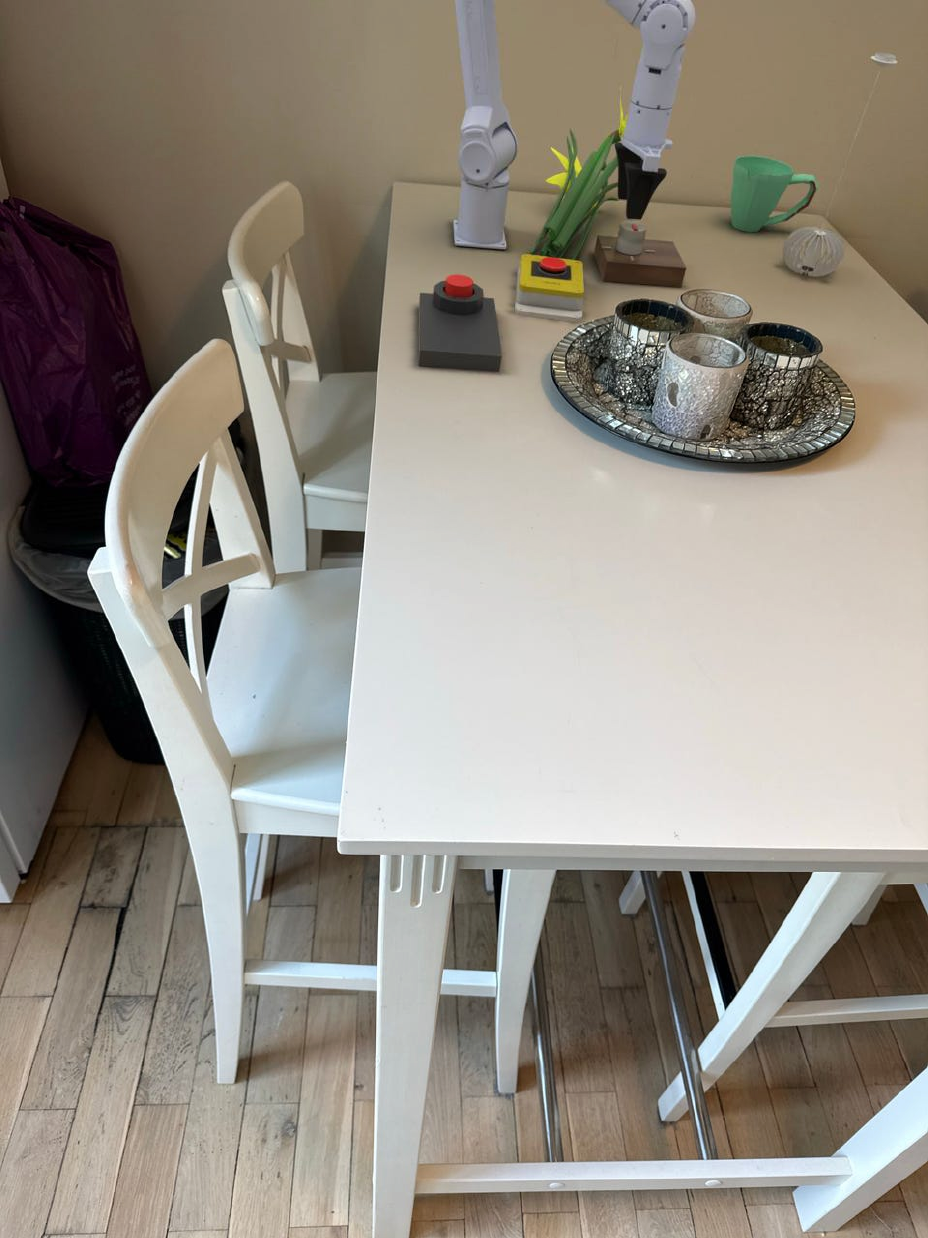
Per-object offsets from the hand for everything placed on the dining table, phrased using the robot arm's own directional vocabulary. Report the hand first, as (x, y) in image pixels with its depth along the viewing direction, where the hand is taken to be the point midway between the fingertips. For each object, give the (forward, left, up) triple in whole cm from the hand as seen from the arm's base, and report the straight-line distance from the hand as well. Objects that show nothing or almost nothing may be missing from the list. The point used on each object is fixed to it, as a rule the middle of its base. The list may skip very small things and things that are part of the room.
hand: (629, 208), depth 127 cm
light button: (+19, -25, -6) cm, 32 cm away
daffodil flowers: (-15, -3, -10) cm, 18 cm away
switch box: (+25, -25, -10) cm, 37 cm away
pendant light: (-7, +33, -10) cm, 35 cm away
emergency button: (+10, -11, -10) cm, 18 cm away
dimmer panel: (-2, +4, -10) cm, 10 cm away
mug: (-24, +30, -10) cm, 39 cm away
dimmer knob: (-2, +2, -6) cm, 7 cm away
